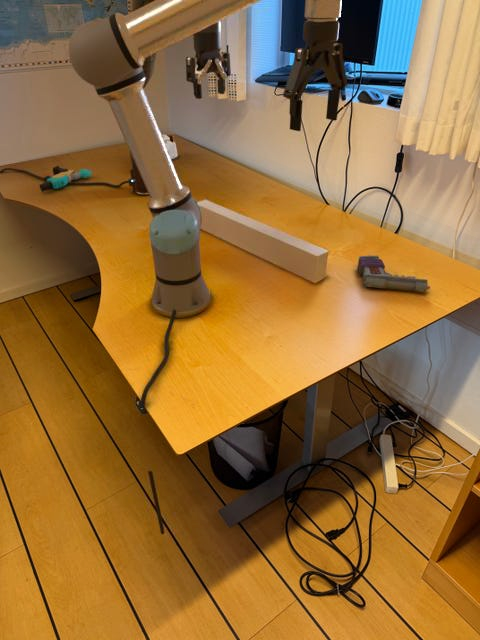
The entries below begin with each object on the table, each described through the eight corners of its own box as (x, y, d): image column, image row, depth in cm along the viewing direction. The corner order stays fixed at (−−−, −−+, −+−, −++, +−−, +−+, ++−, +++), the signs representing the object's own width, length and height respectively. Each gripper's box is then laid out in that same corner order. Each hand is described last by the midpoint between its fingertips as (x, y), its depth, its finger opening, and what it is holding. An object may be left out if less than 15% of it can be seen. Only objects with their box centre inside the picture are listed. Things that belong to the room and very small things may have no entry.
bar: (325, 277, 135) (328, 250, 130) (314, 283, 132) (317, 256, 127) (206, 222, 166) (205, 199, 161) (196, 226, 163) (194, 203, 158)
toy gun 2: (422, 269, 137) (428, 298, 126) (357, 263, 141) (356, 291, 129) (425, 258, 135) (432, 285, 123) (358, 252, 138) (358, 278, 126)
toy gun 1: (18, 179, 190) (45, 185, 184) (65, 161, 208) (91, 166, 203) (21, 190, 192) (48, 196, 187) (67, 171, 211) (93, 177, 205)
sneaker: (133, 173, 208) (129, 144, 201) (161, 153, 230) (158, 127, 223) (155, 175, 205) (151, 146, 198) (180, 155, 227) (178, 129, 220)
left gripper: (217, 27, 132) (219, 90, 141) (176, 30, 124) (182, 98, 133) (236, 28, 127) (237, 94, 137) (195, 32, 120) (199, 102, 129)
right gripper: (342, 15, 110) (333, 113, 123) (268, 22, 96) (266, 131, 109) (370, 17, 106) (357, 117, 118) (296, 24, 92) (291, 138, 104)
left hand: (210, 96), depth 135 cm, fingers open, 8 cm apart
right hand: (313, 124), depth 114 cm, fingers open, 13 cm apart
